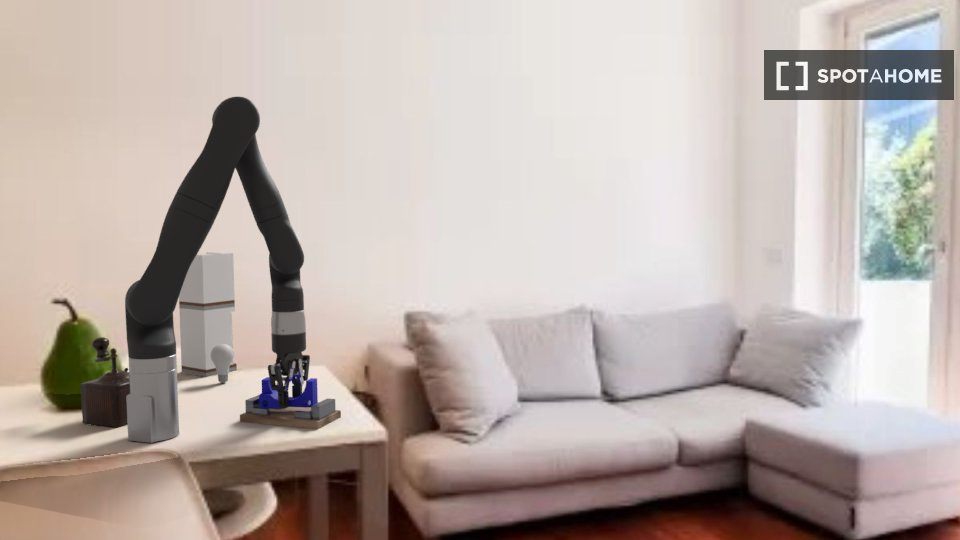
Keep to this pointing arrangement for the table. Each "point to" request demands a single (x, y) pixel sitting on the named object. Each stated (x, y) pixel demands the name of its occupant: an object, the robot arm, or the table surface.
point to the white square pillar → (206, 312)
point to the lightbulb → (222, 360)
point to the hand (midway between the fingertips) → (290, 404)
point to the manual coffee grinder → (106, 392)
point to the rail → (291, 414)
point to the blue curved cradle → (304, 400)
